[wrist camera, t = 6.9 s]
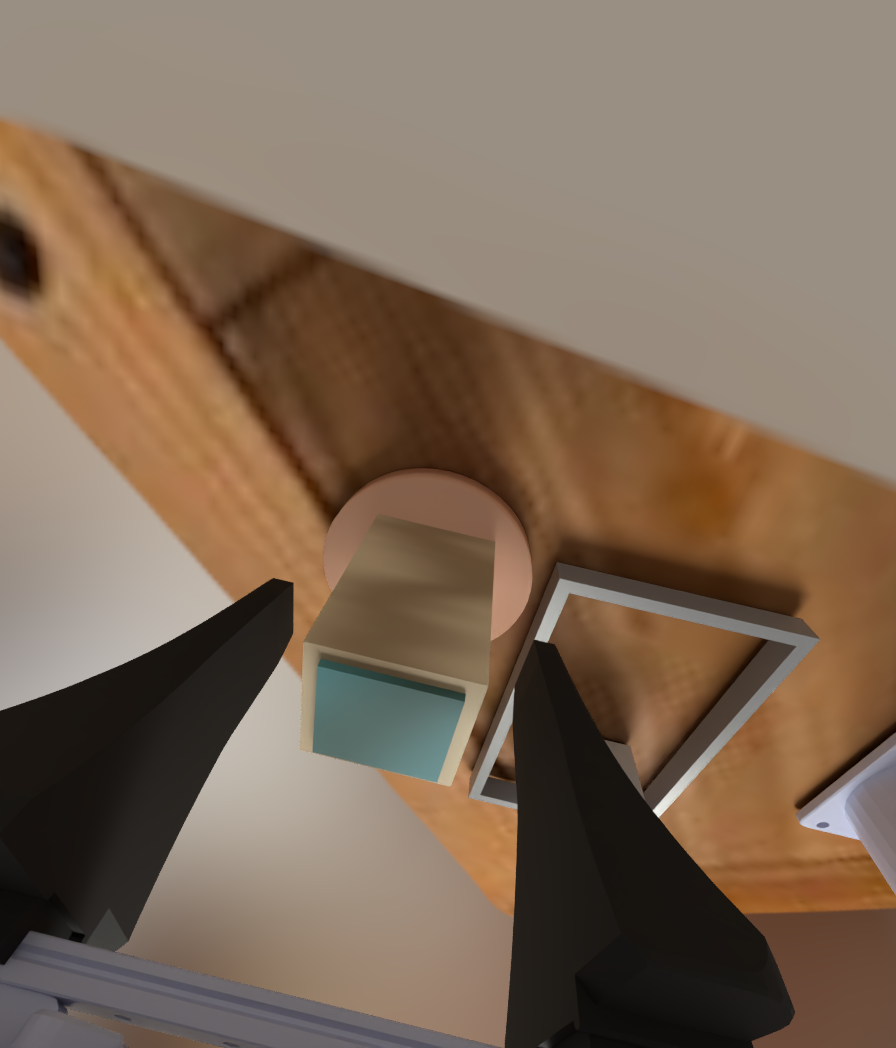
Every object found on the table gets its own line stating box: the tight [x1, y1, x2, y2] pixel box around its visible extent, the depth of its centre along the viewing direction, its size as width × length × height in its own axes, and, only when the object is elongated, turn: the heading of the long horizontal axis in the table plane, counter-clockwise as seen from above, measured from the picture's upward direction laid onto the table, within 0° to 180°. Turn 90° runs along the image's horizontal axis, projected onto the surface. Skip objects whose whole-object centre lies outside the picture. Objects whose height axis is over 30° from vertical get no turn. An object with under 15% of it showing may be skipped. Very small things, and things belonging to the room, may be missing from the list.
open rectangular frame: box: [468, 562, 820, 818], centre depth 18 cm, size 9×14×1 cm, turn 169°
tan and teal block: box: [300, 514, 495, 787], centre depth 12 cm, size 4×4×6 cm
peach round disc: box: [323, 468, 532, 641], centre depth 15 cm, size 8×8×1 cm
